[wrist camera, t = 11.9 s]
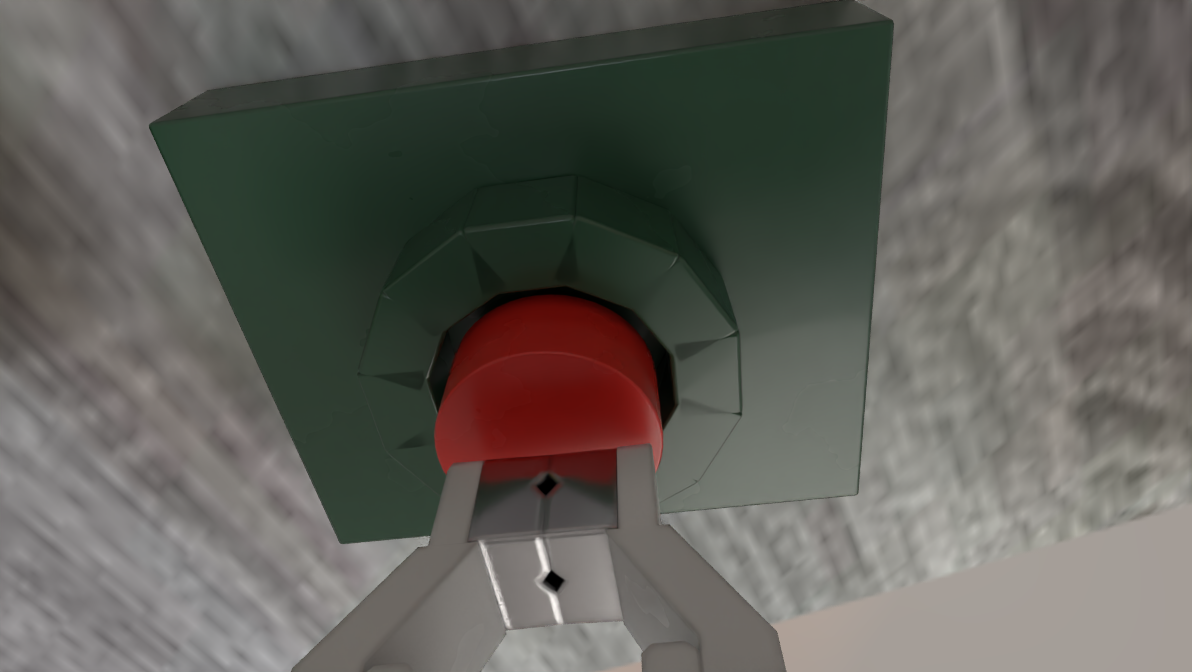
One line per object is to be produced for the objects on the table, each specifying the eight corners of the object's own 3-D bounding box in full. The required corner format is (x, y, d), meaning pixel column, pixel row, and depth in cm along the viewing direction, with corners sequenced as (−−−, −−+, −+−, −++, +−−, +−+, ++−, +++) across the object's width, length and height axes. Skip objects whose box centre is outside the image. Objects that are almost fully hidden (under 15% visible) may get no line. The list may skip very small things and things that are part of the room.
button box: (853, -3, 13) (943, 43, 10) (832, 432, 18) (885, 560, 15) (205, 90, 14) (79, 161, 11) (364, 480, 19) (314, 611, 16)
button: (645, 280, 12) (652, 338, 11) (664, 449, 14) (672, 517, 12) (429, 307, 12) (406, 366, 11) (476, 468, 14) (463, 537, 13)
